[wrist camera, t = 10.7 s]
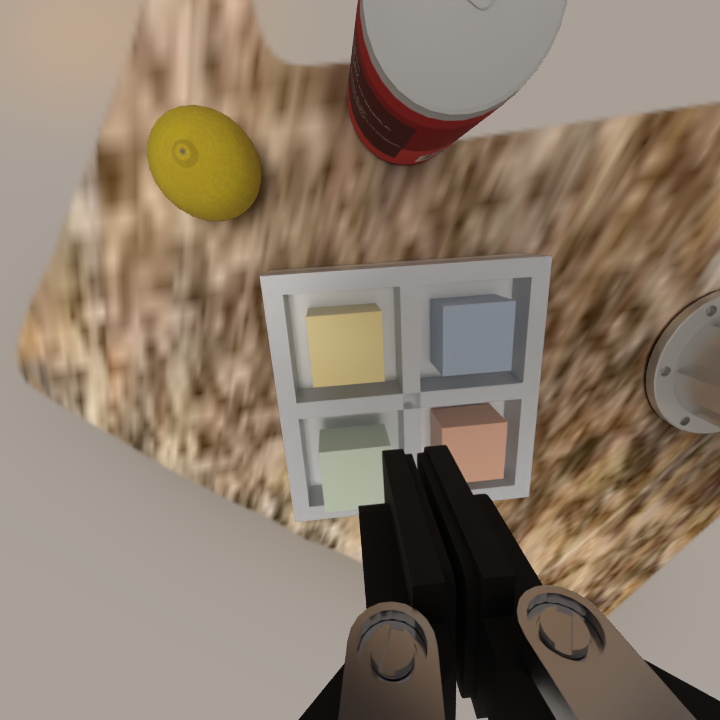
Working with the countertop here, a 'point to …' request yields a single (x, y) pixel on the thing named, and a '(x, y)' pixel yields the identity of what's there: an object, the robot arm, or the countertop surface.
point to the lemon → (204, 163)
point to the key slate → (472, 334)
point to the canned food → (440, 68)
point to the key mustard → (346, 344)
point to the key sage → (352, 466)
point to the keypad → (404, 362)
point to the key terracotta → (472, 439)
